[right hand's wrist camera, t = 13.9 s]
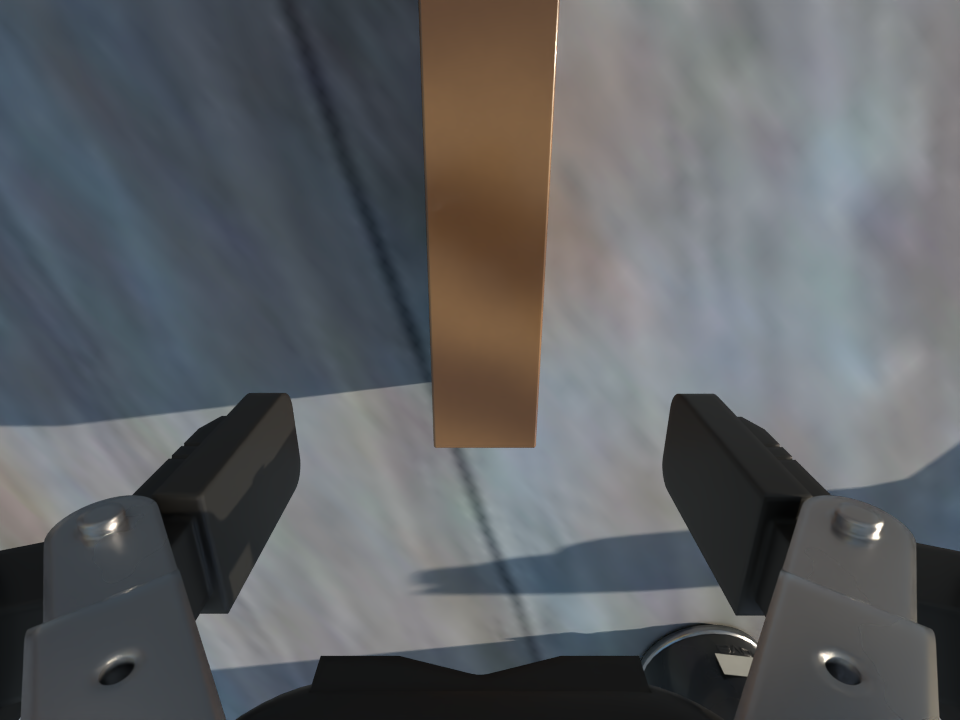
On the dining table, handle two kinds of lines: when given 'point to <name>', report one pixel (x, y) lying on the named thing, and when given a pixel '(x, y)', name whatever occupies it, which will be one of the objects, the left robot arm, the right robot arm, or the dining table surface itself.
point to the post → (486, 211)
